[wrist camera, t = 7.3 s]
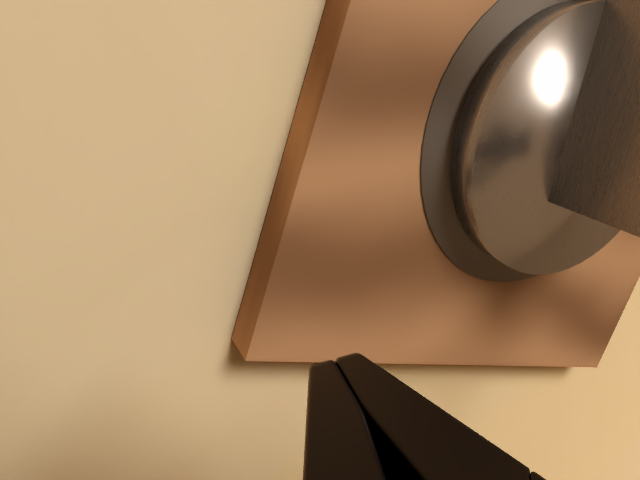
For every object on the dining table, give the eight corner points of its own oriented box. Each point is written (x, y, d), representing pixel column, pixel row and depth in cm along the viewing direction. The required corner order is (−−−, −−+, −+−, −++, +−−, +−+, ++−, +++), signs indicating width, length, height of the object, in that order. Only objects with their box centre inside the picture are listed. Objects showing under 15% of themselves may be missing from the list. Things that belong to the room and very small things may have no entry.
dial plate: (573, 352, 31) (598, 368, 29) (231, 339, 20) (246, 362, 19) (748, -33, 26) (788, -34, 24) (412, -305, 16) (450, -333, 14)
